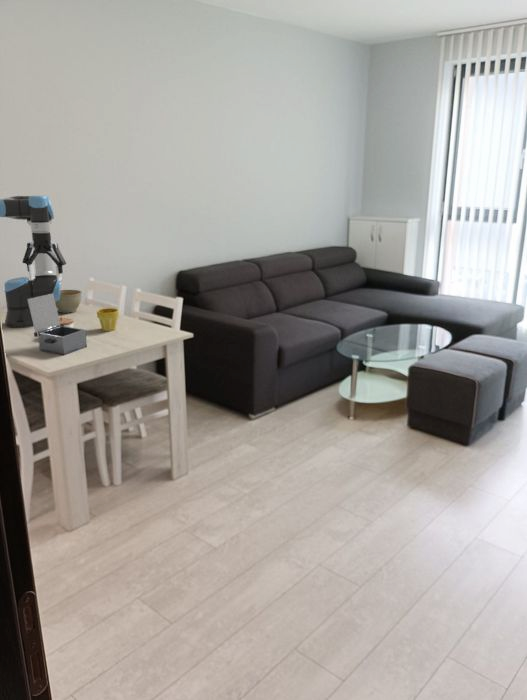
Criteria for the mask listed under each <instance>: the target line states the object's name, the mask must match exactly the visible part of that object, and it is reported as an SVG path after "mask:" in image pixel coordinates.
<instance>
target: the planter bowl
mask: <svg viewBox="0 0 527 700" xmlns="http://www.w3.org/2000/svg"><path fill="white" fill-rule="evenodd" d="M82 293H83V292H82V291H81V290H79V289H78V290H77V289H60V299H59V300H58V301H55V304H56V308H57V311H58V312H59V313H63V314H69V313H70V312H71V313H75V312H78V308H79V306H80V305H81V303H82V302H81V301H82ZM74 311H75V312H74Z"/></svg>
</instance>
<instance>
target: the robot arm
mask: <svg viewBox="0 0 527 700" xmlns="http://www.w3.org/2000/svg"><path fill="white" fill-rule="evenodd" d="M0 218H7V219H11V220H19V221H20V220H23V221H24V220H25V221H26V222H27V223H26V224H28V226H30V230H31V238H32V239H31V240H32V242H31V241H30V242H27V243H26V249H25V253H24V256H23V259H22V263H23V264H25V265H26V266H27V267H26V269H27V272H28V273H29V277H28V276H27V277H24V276H21V277H20V276H19V277H15V278H11V279H9V280H6V281H5V282H4V294H5V300H6V315H5V319H4V324H5V327H8V326H9V327H8V328H26V327H31V326H34V325H33V320H32V316H31V312H30V308H29V304H28V300H27V299H30V298H35V297H39V296H43V295H47V294H51V293H53V295H54V299H55V301H58V300H59V299H60V290H61V285H62V284H61V281H63V277H62V276H63V275H62V274H63V273H64V272H63V269H64V268H63V267H64V266H66V264H67V261H66V259H65V258H64V256H63V254H62V252H61V250H60V248H59V244H58V243H52V242H51V241H52V236H51V226H50V225H51V224H52V220H54V218H55V215H54V210H53V206H52V202H51V199H50V197H48V196H45V195H16V196H11V197H5V198H3V199H2V198H0ZM52 249H53V250H52ZM33 262H34V263H33ZM54 263H55V265H56V266H55V272H54Z"/></svg>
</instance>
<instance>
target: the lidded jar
mask: <svg viewBox="0 0 527 700" xmlns="http://www.w3.org/2000/svg"><path fill="white" fill-rule="evenodd" d="M59 321H60V324H64V326H66V327H72V328H75V327H74V319H73V318H71V317H63V316H60V317H59Z"/></svg>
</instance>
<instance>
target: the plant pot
mask: <svg viewBox="0 0 527 700" xmlns="http://www.w3.org/2000/svg"><path fill="white" fill-rule="evenodd" d="M119 311H120V310H119V309H117V308H115V307H105V308H100V309H99V308H98V309H97V310H96V315H97V318H98V320H99V324H100V327H101V329H102V331H104V332H111V331H112V332H113V331H115V330H116V329H117V325H118V318H119V317H120V312H119Z"/></svg>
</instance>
